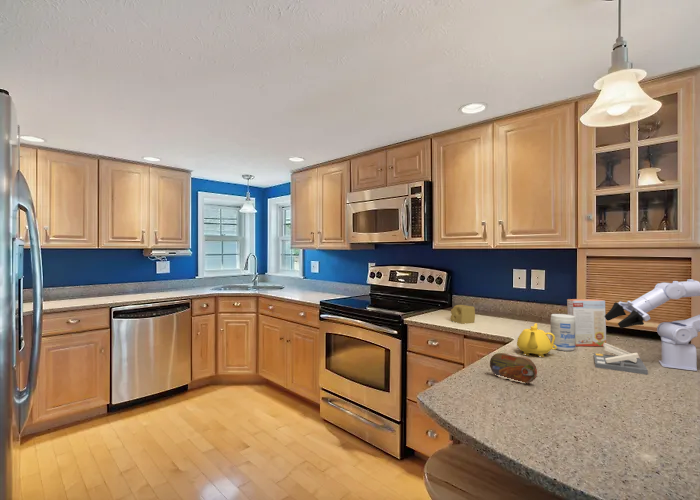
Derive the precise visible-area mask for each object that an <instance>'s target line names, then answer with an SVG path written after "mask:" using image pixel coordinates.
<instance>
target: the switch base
mask: <svg viewBox="0 0 700 500" xmlns="http://www.w3.org/2000/svg"><path fill="white" fill-rule="evenodd" d="M615 356H618V355H615V354H613V355H612V354H604V353H596V352H595V353H594V352H593V361H594V365H595V366H594V367H595V368H597V369H604V370H605V369H606V370H612V371H620V372H625V373H634V374H640V375H641V374H642V375H648V374H649V373H648V372H649V369H648V368H647V367H646V365H645V363H644V362H643V359H642V358H636V359H637V361H636V363H635V362H633V361H630V360H623V361H617V362H611V363H607V362H606V360H605V358H609V357H615Z"/></svg>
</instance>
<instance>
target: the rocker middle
mask: <svg viewBox="0 0 700 500" xmlns="http://www.w3.org/2000/svg"><path fill="white" fill-rule="evenodd" d="M603 350H604V351H605V352H608V353H611V354H613V355H615V356H617V355H618V356H620V355H626V354H625V353H622V352H620V351H617V350H615V349H612V348H610V347H607V346H605V347H603ZM629 360H630V361H633V362H635V363H636V361H637V359H636V358H635V359H629Z"/></svg>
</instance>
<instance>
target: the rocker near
mask: <svg viewBox="0 0 700 500" xmlns="http://www.w3.org/2000/svg"><path fill="white" fill-rule="evenodd" d="M614 356H615V357H609V358H605V360H606V362H607V363H611V362H617V361H623V360H629V359H635V358H639V359H641V358H640V356H639V354H638V352H634V353H633V352H632V354H626V355H620V356H617V355H614Z"/></svg>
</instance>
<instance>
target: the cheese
mask: <svg viewBox="0 0 700 500" xmlns="http://www.w3.org/2000/svg"><path fill="white" fill-rule="evenodd" d="M450 314H451V315H450V318H449V319H450V322H452V321H454V323H456V322H457V324H461V325H466V324H472V323H475V321H476V309H475V306H473V305H466V304H457V305H454V306H453V308H451V310H450ZM465 323H466V324H465Z"/></svg>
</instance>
